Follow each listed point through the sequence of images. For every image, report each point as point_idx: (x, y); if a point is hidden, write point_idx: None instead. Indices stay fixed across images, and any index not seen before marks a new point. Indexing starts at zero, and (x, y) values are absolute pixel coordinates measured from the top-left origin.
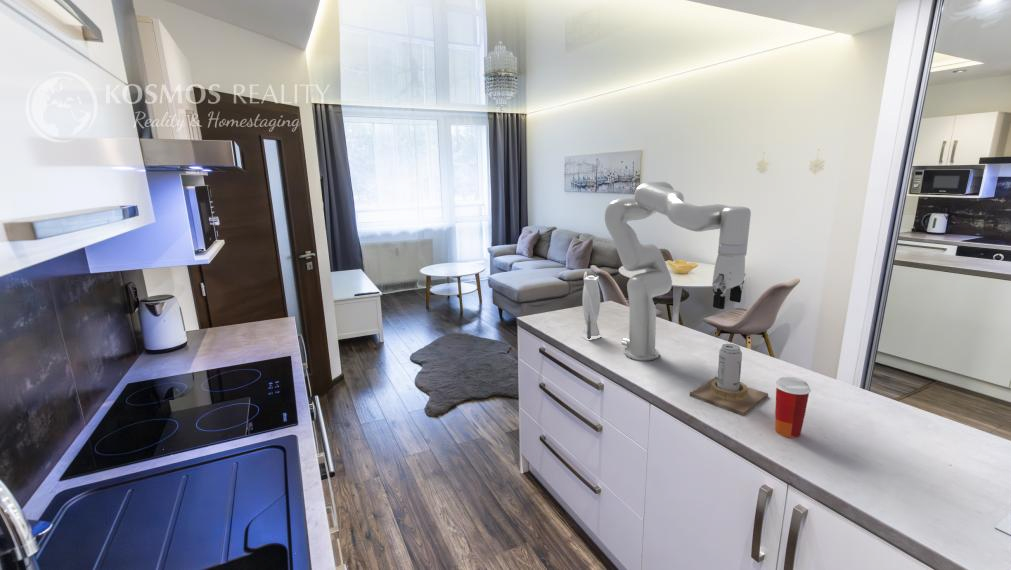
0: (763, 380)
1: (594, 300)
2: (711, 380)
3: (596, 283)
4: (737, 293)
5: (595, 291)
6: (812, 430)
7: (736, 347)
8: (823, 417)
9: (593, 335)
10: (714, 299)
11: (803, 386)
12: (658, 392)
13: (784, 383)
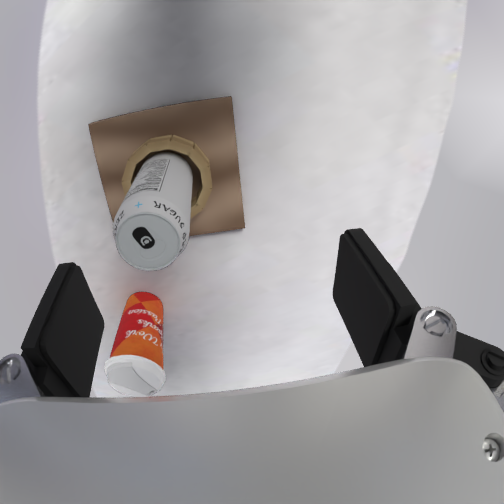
0: (321, 175)
1: None
2: (199, 104)
3: None
4: (362, 334)
5: None
6: (184, 320)
7: (160, 256)
8: (242, 311)
9: None
10: (42, 314)
11: (136, 394)
12: (45, 73)
13: (115, 378)
